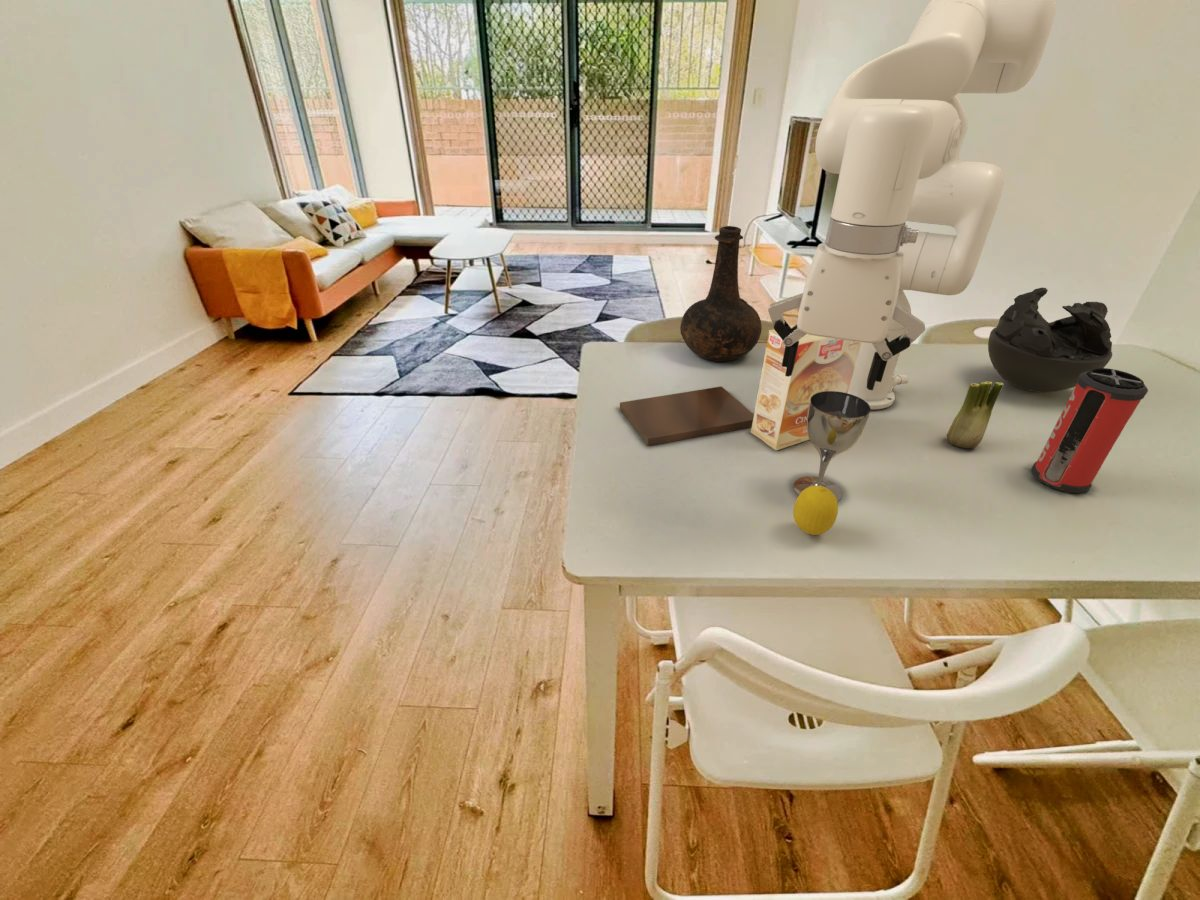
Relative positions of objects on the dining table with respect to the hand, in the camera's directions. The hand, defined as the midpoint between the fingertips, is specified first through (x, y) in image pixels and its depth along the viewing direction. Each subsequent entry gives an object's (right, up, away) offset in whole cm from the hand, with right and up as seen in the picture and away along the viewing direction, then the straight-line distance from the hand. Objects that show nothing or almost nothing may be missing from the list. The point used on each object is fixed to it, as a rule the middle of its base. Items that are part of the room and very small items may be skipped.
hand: (828, 378), depth 71 cm
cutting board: (-12, -3, +35) cm, 37 cm away
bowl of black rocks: (+60, +4, +46) cm, 76 cm away
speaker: (+44, -14, +18) cm, 50 cm away
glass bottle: (-1, +13, +60) cm, 62 cm away
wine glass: (+5, -15, +16) cm, 23 cm away
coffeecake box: (+6, -6, +31) cm, 32 cm away
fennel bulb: (+34, -8, +27) cm, 44 cm away
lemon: (0, -21, +7) cm, 22 cm away
